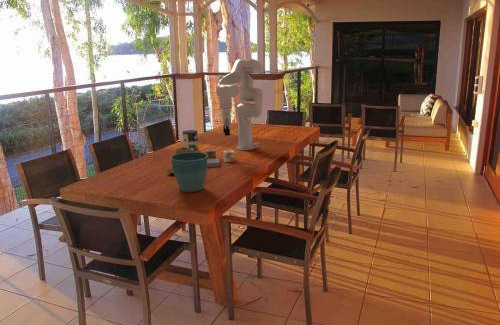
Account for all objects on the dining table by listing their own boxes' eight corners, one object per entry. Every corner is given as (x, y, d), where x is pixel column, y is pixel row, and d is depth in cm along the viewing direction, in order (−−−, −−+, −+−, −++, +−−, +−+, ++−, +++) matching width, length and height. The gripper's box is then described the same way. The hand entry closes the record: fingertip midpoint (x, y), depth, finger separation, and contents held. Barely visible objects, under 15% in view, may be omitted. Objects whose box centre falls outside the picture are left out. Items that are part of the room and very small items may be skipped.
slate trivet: (218, 162, 272) (218, 158, 272) (219, 166, 263) (219, 162, 262) (202, 163, 271) (202, 159, 270) (203, 167, 261) (202, 163, 261)
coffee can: (200, 150, 307) (199, 130, 304) (195, 153, 298) (194, 132, 294) (186, 149, 309) (185, 129, 306) (181, 153, 300) (180, 132, 296)
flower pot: (189, 197, 208) (187, 162, 204) (165, 190, 220) (163, 157, 216) (216, 188, 221) (215, 155, 217) (192, 181, 233) (191, 150, 229)
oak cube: (233, 159, 279) (233, 150, 278) (234, 161, 274) (234, 152, 272) (223, 159, 278) (223, 150, 277) (224, 162, 273) (224, 152, 271)
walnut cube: (215, 158, 284) (214, 149, 282) (216, 160, 278) (215, 151, 276) (206, 158, 283) (205, 149, 281) (206, 160, 277) (206, 151, 275)
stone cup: (199, 171, 253) (197, 145, 250) (191, 176, 242) (189, 150, 239) (174, 169, 257) (173, 144, 254) (165, 175, 246) (164, 149, 243)
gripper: (233, 107, 260) (234, 136, 264) (230, 104, 277) (231, 131, 281) (220, 108, 259) (221, 136, 263) (218, 105, 276) (219, 131, 280)
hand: (226, 134), depth 272 cm, fingers open, 9 cm apart
